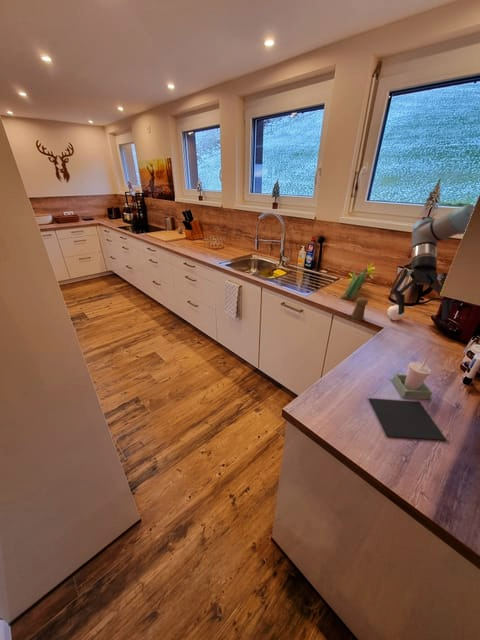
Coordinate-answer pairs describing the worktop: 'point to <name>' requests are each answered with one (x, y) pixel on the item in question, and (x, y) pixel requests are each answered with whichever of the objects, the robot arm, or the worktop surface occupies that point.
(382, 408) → the mat
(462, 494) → the worktop surface
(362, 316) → the brown tapered tower
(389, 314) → the geometric ball
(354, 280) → the daffodil flowers
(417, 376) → the smoothie
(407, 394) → the holder
